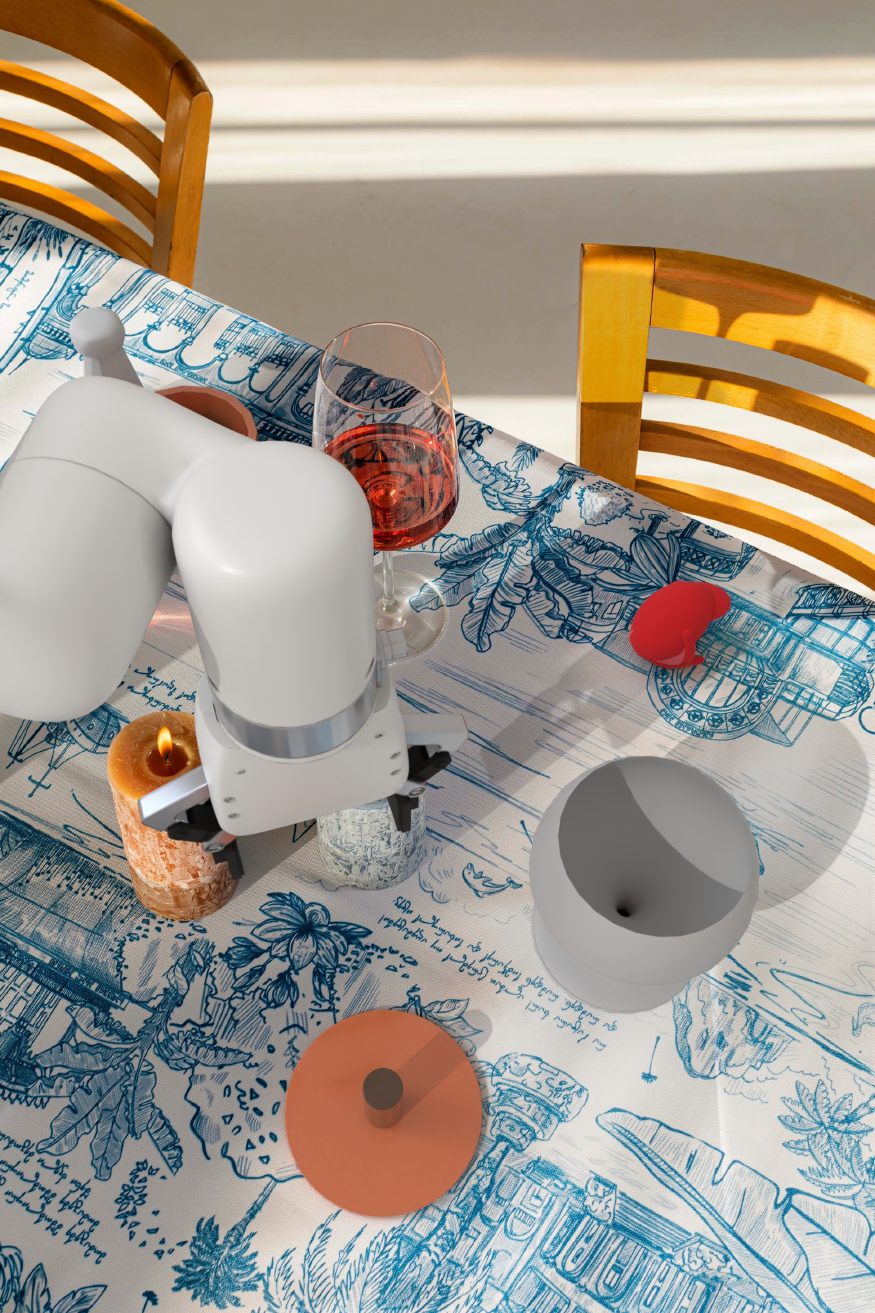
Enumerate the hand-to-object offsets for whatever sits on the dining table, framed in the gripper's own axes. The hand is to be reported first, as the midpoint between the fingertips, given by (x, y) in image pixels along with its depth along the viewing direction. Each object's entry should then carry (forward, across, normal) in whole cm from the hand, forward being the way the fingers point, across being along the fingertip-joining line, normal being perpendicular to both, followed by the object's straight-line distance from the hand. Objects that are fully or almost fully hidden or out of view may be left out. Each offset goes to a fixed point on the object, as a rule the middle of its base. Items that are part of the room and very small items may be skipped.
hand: (316, 832), depth 68 cm
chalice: (+17, -19, +6) cm, 26 cm away
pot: (+16, +1, -40) cm, 44 cm away
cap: (+17, -32, -15) cm, 39 cm away
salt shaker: (+17, +6, -50) cm, 53 cm away
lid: (+16, 0, +12) cm, 20 cm away
